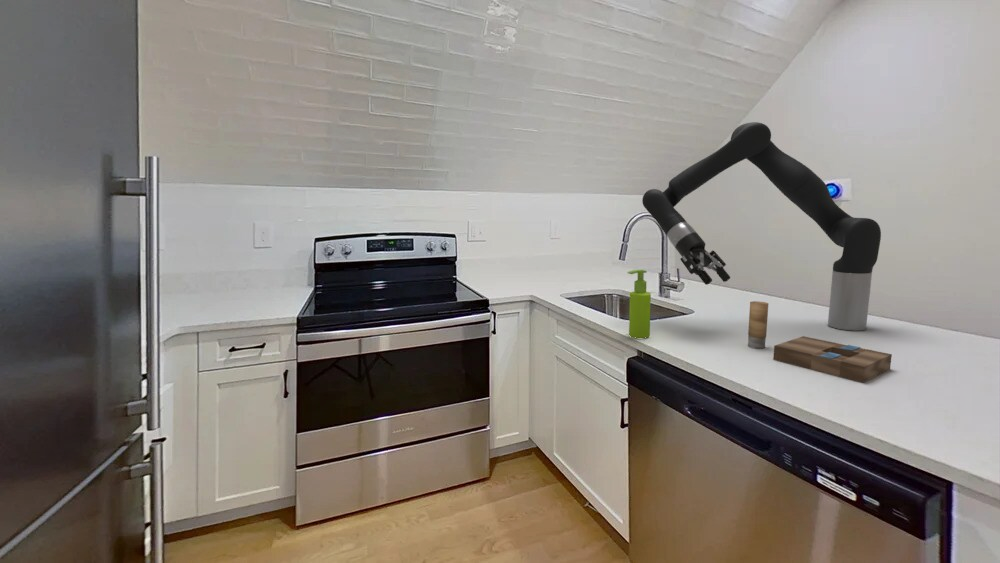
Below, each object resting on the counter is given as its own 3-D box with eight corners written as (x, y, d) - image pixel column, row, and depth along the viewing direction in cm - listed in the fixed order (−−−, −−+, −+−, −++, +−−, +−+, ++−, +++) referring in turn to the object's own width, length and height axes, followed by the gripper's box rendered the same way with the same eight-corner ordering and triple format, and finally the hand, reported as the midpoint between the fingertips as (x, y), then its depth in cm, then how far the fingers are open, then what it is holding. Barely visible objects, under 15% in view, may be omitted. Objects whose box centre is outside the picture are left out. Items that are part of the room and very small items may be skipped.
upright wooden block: (752, 343, 119) (755, 300, 117) (768, 346, 115) (771, 303, 114) (744, 345, 117) (746, 302, 115) (759, 349, 113) (762, 305, 111)
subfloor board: (802, 349, 113) (803, 335, 112) (890, 369, 97) (891, 353, 97) (773, 359, 106) (774, 344, 105) (862, 382, 90) (864, 365, 90)
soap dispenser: (622, 334, 130) (623, 269, 127) (641, 332, 132) (643, 268, 129) (633, 340, 125) (634, 272, 122) (653, 337, 127) (655, 270, 124)
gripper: (678, 232, 125) (712, 275, 117) (708, 230, 132) (742, 271, 124) (662, 249, 131) (694, 292, 123) (692, 246, 138) (724, 286, 130)
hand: (718, 281), depth 124 cm, fingers open, 8 cm apart
